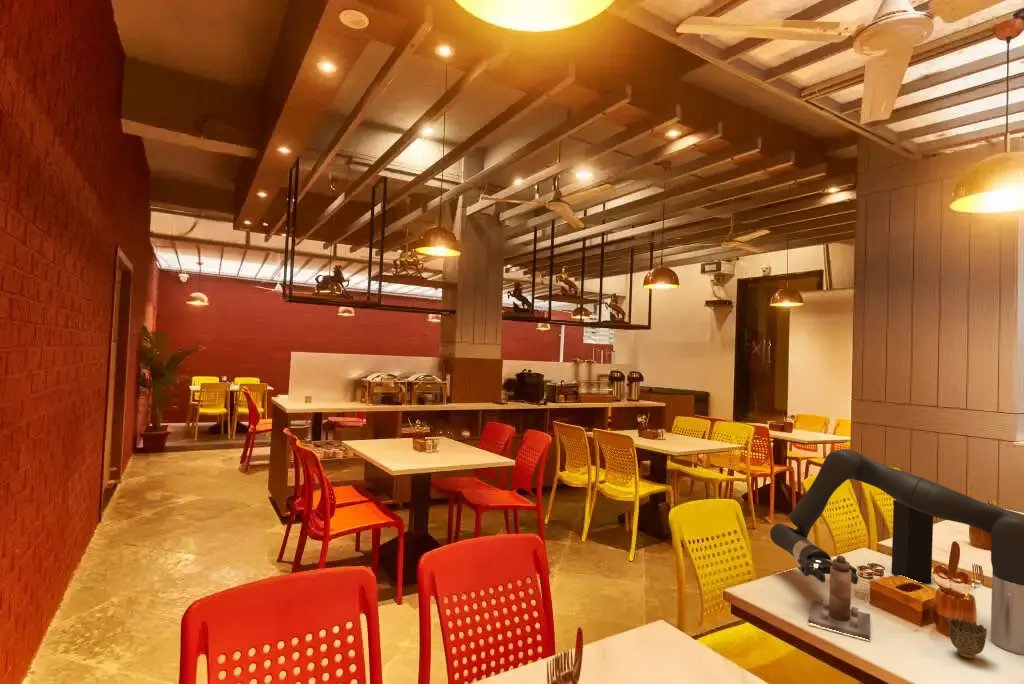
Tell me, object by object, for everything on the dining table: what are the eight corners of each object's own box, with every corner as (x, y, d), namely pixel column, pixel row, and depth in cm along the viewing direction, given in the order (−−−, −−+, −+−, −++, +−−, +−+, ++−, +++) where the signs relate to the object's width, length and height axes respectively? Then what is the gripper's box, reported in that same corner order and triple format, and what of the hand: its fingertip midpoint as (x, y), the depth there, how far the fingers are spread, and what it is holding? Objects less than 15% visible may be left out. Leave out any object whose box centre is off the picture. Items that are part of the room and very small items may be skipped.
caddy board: (869, 619, 155) (870, 606, 155) (869, 641, 143) (869, 628, 143) (812, 605, 162) (813, 593, 162) (807, 625, 151) (808, 612, 151)
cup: (947, 645, 142) (948, 614, 142) (985, 656, 138) (986, 624, 138) (946, 657, 136) (947, 625, 136) (986, 669, 132) (987, 635, 132)
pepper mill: (850, 615, 153) (852, 555, 153) (849, 623, 149) (851, 560, 149) (829, 610, 156) (831, 550, 156) (828, 617, 152) (830, 556, 152)
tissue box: (931, 584, 179) (934, 497, 179) (906, 583, 179) (909, 496, 179) (914, 574, 187) (917, 490, 187) (890, 573, 187) (893, 490, 187)
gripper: (787, 543, 169) (813, 564, 153) (835, 545, 169) (867, 567, 152) (786, 568, 169) (812, 592, 153) (835, 570, 169) (866, 594, 152)
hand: (840, 579), depth 153 cm, fingers open, 8 cm apart
